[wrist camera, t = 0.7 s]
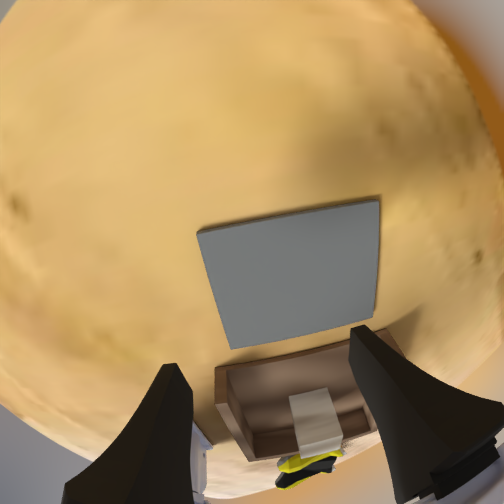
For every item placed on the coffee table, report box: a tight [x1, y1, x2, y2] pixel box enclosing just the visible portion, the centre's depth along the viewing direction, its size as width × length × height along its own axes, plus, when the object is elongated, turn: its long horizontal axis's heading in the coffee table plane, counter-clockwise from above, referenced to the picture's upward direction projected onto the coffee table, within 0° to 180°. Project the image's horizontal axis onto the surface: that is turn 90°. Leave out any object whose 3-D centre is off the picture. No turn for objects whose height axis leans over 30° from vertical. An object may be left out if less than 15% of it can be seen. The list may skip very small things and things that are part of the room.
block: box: [289, 387, 343, 459], centre depth 23 cm, size 4×4×6 cm
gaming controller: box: [275, 446, 347, 490], centre depth 31 cm, size 15×6×10 cm
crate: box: [215, 329, 405, 462], centre depth 24 cm, size 15×16×4 cm
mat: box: [196, 199, 379, 350], centre depth 19 cm, size 10×12×1 cm
